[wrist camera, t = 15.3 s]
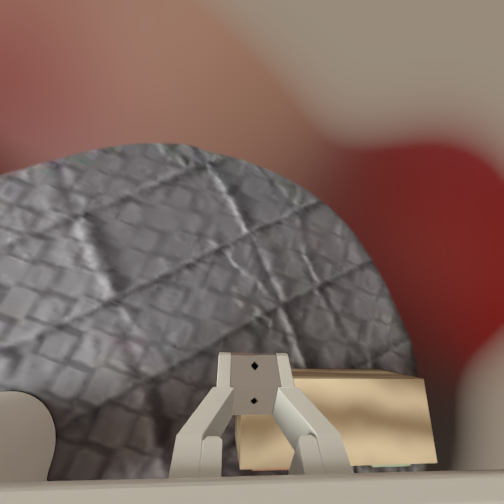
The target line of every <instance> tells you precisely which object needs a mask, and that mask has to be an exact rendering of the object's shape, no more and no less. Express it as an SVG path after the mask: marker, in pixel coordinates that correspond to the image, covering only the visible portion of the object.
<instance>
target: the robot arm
mask: <svg viewBox="0 0 504 504" xmlns="http://www.w3.org/2000/svg"><path fill="white" fill-rule="evenodd" d="M251 414H254V415H272V416H273V418H274V420H275V421H276V423H277V424H278V426H279V427H280V429H281V431H282V432H283V434H284V435H285V437H286V438H287V440H288V442H289V443H290V445H291V446H292V448H293V450H294V451H295V453H294V456H293V459H292V462H291V465H290V468H289V472H288V473H289V475H270V476H232V477H221V464H222V439H221V438H220V437H221V436H222V434H223V432H224V430H225V428H226V426H227V425H228V423H229V421H230V419H231V417H232V415H251ZM55 441H56V434H55V426H54V422H53V419H52V417H51V414H50V413H49V411H48V409H47V408H46V407H45V405H44V404H43V403H42V402H41V401H39V400H38V399H37V398H35V397H33V396H31V395H29V394H26V393H23V392H17V391H5V392H0V504H504V470H465V471H426V472H387V473H353V472H352V468H351V465H350V462H349V459H348V456H347V453H346V450H345V447H344V444H343V441H342V437H341V434H340V433H339V432H338V431H337V430H336V429H335V427H334V426H333V425H332V424H331V423H330V422H329V421H328V420H327V419H326V417H325V416H324V415H323V414H322V413H321V412H320V411H319V410H318V409H317V407H316V406H315V405H314V404H313V403H312V402H311V401H310V400H309V399H308V397H307V396H306V395H305V394H304V393H303V392H302V391H301V390H300V389H299V387H295V385H294V380H293V376H292V371H291V367H290V362H289V357H288V355H287V353H234V352H219V359H218V373H217V387H213V388H212V389H211V390H210V392H209V393H208V394H207V396H206V397H205V398H204V400H203V401H202V402H201V404H200V405H199V406H198V408H197V409H196V410H195V411H194V413H193V414H192V415H191V417H190V418H189V419H188V421H187V422H186V423H185V425H184V426H183V427H182V429H181V430H180V431H179V433H178V434H177V435H176V440H175V446H174V451H173V456H172V462H171V467H170V472H169V477H168V478H156V479H118V480H79V481H47V475H48V471H49V468H50V465H51V461H52V458H53V455H54V450H55Z"/></svg>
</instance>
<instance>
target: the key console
mask: <svg viewBox="0 0 504 504" xmlns="http://www.w3.org/2000/svg"><path fill="white" fill-rule="evenodd" d="M291 371H292V376H293V380H294V385H295V387H299V389H300V390H301V391H302V392H303V393H304V394H305V395H306V396H307V397H308V399H309V400H310V401H311V402H312V403H313V404H314V405H315V406H316V407H317V409H318V410H319V411H320V412H321V413H322V414H323V415H324V416H325V417H326V419H327V420H328V421H329V422H330V423H331V424H332V425H333V426H334V427H335V429H336V430H337V431H338V432H339V433H340V434H341V437H342V441H343V444H344V447H345V450H346V453H347V456H348V459H349V462H350V465H351V466H361V465H391V464H420V463H437V459H436V452H435V446H434V440H433V433H432V428H431V421H430V415H429V409H428V403H427V397H426V391H425V385H424V379H422V378H417V377H413V376H408V375H403V374H399V373H394V372H390V371H385V370H380V369H291ZM235 439H236V446H237V453H238V460H239V467H240V470H242V469H272V468H290V465H291V462H292V459H293V456H294V453H295V451H294V450H293V448H292V446H291V445H290V443H289V442H288V440H287V438H286V437H285V435H284V434H283V432H282V431H281V429H280V427H279V426H278V424H277V423H276V421H275V420H274V418H273V416H272V415H254V414H251V415H236V421H235Z"/></svg>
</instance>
